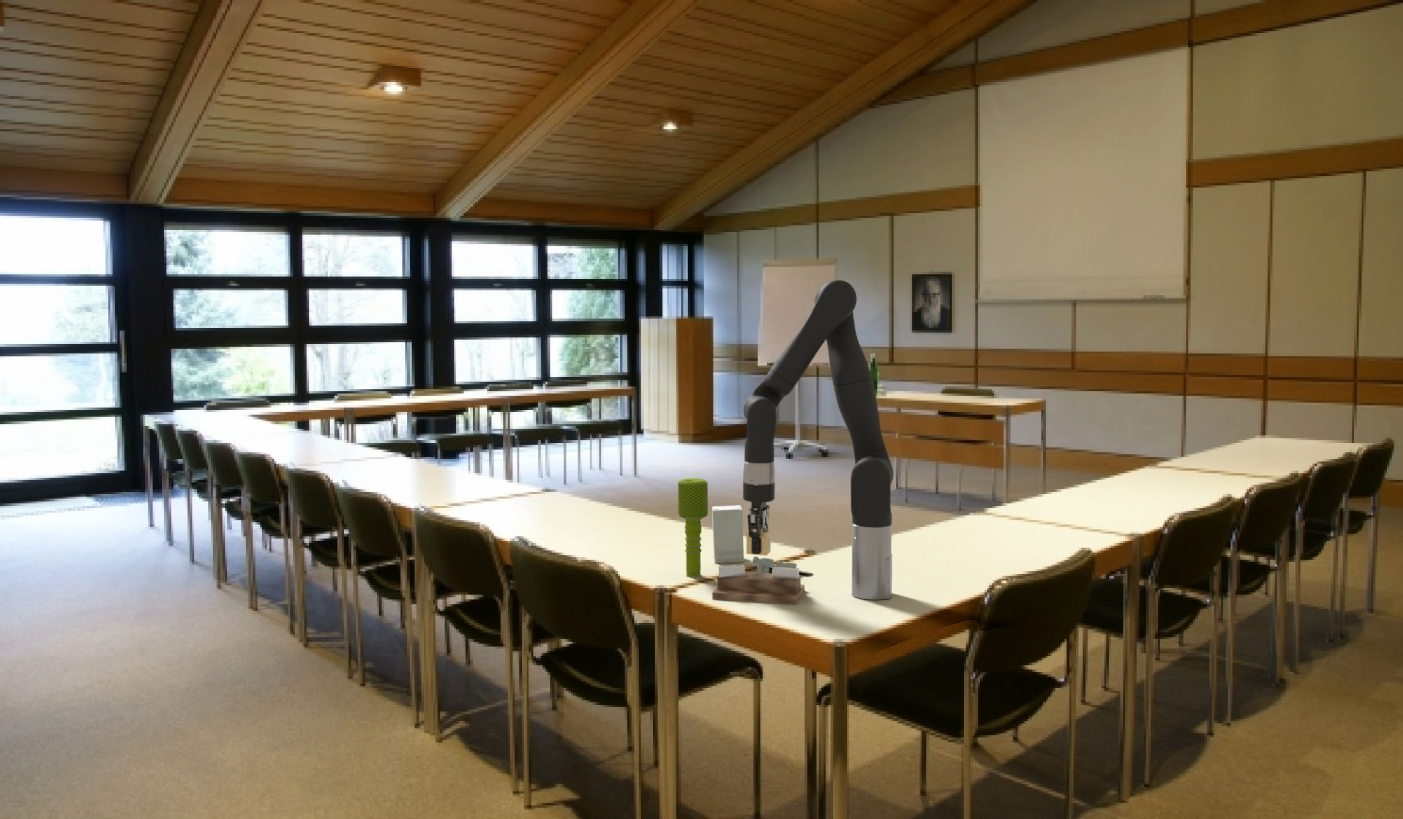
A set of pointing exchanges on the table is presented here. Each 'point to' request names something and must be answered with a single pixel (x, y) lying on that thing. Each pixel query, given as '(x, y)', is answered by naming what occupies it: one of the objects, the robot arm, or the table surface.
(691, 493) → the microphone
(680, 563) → the table surface
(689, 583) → the table surface
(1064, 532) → the table surface
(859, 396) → the robot arm
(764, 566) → the metal bracket
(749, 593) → the base
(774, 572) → the grey bar
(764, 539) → the natural wood cube
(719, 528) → the skincare box
